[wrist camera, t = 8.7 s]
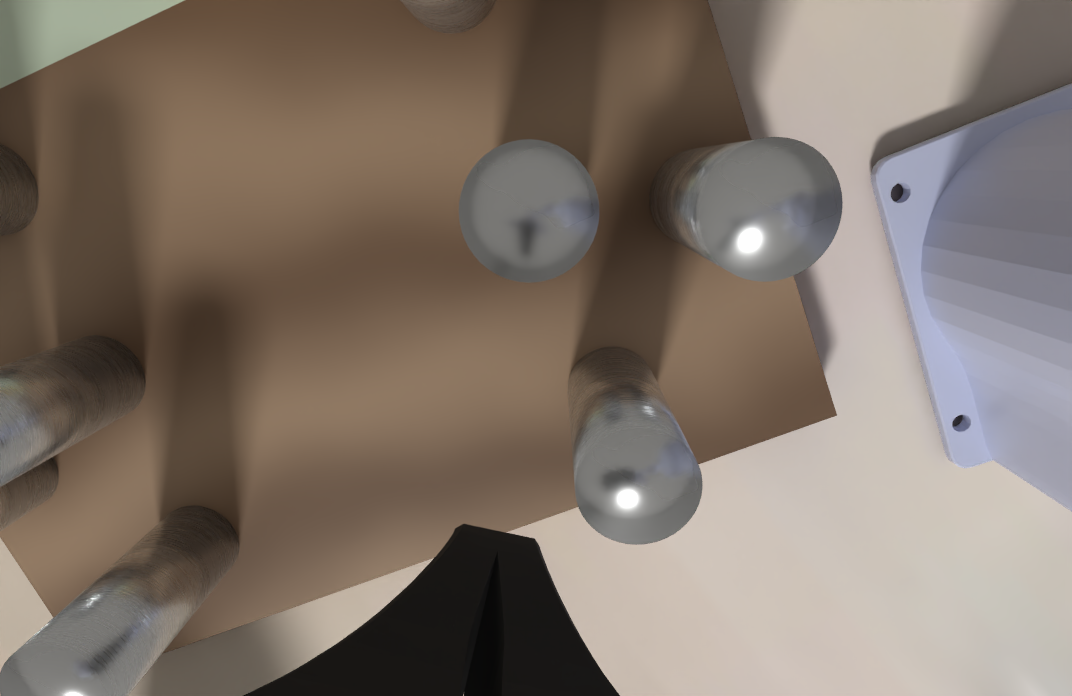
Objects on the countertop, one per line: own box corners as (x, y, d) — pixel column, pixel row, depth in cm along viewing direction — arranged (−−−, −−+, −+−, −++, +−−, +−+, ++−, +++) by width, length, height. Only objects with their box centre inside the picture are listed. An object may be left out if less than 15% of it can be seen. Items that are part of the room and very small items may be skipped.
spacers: (800, 363, 18) (916, 452, 13) (77, 627, 21) (-106, 802, 15) (630, -169, 15) (679, -377, 9) (-192, 217, 18) (-547, 240, 12)
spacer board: (816, 397, 20) (836, 415, 19) (122, 645, 23) (93, 678, 21) (632, -184, 16) (639, -218, 15) (-167, 194, 19) (-226, 196, 18)
